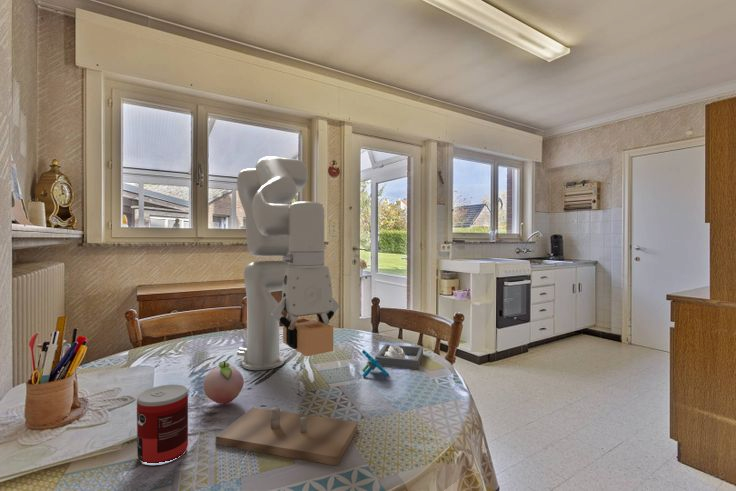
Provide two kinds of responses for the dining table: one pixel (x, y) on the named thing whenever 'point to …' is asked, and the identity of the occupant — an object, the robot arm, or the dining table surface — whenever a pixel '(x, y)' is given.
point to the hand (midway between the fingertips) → (307, 343)
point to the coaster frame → (400, 361)
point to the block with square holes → (312, 336)
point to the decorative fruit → (223, 383)
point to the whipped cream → (395, 352)
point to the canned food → (162, 423)
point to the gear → (372, 365)
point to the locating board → (290, 435)
